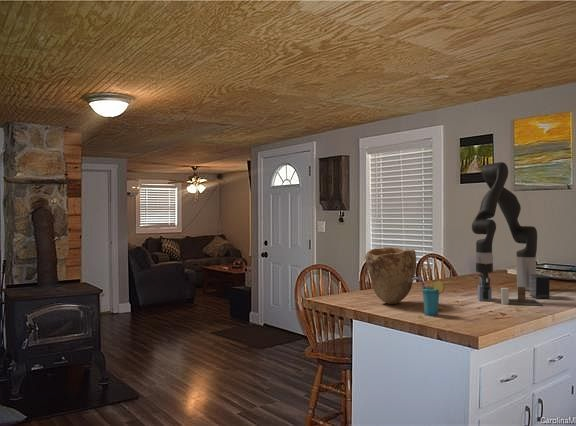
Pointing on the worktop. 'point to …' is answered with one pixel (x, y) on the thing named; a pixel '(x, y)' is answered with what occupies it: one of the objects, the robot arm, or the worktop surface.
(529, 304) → the dark grey square tray
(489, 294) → the blue-grey block
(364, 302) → the worktop surface
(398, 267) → the bowl
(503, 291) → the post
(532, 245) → the robot arm
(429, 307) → the cup
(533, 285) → the small box
